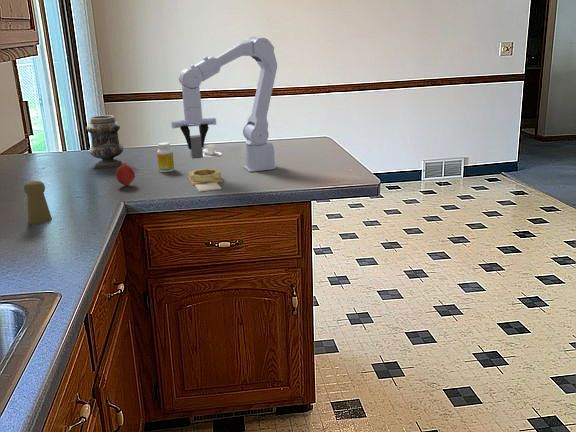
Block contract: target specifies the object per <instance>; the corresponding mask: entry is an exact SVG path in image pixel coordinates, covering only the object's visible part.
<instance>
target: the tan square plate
mask: <svg viewBox="0 0 576 432" xmlns="http://www.w3.org/2000/svg"><path fill="white" fill-rule="evenodd" d="M187 180H188V182H190V184H191V185H192V186H195V185H199V184H207V183H216V182H217V184H219V183H224V178H222V177H221V178H219V179H217V180H215V181H207V182H196V181H191V180H190V179H189V175H187Z"/></svg>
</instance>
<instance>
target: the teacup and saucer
mask: <svg viewBox="0 0 576 432" xmlns="http://www.w3.org/2000/svg"><path fill="white" fill-rule="evenodd" d="M202 152H203V157H206V158H208V157H209V158H210V157H211V158H212V157H219V156H221V155H222V154H223V153H222V152H220V151H216V144H212V143H211V144H207V145H206V148H204V149H202ZM215 154H216V155H215Z"/></svg>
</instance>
